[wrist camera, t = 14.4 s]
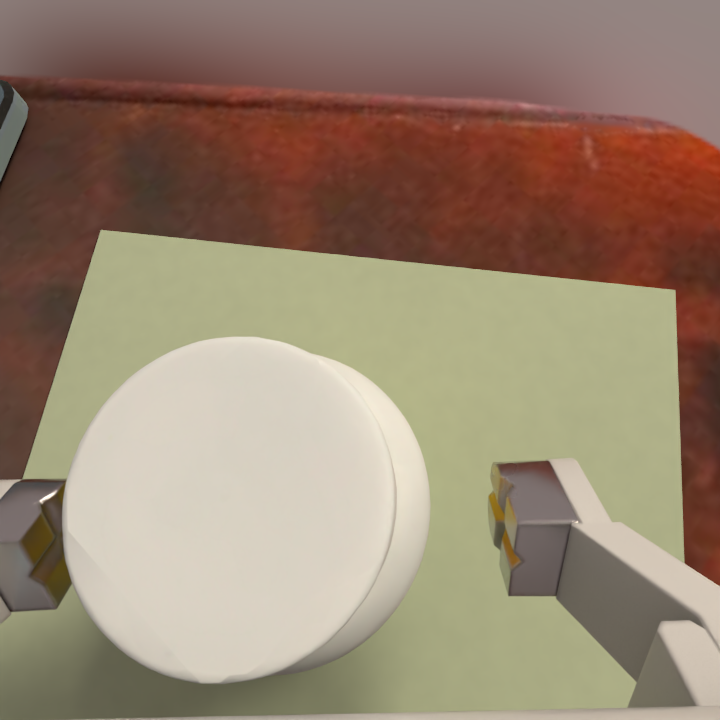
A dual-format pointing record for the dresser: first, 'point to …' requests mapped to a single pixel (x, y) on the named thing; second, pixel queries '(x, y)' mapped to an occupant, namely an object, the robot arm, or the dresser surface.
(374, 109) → the dresser surface
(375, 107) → the dresser surface
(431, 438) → the mat
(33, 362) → the dresser surface
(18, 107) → the smartphone
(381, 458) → the supplement bottle
